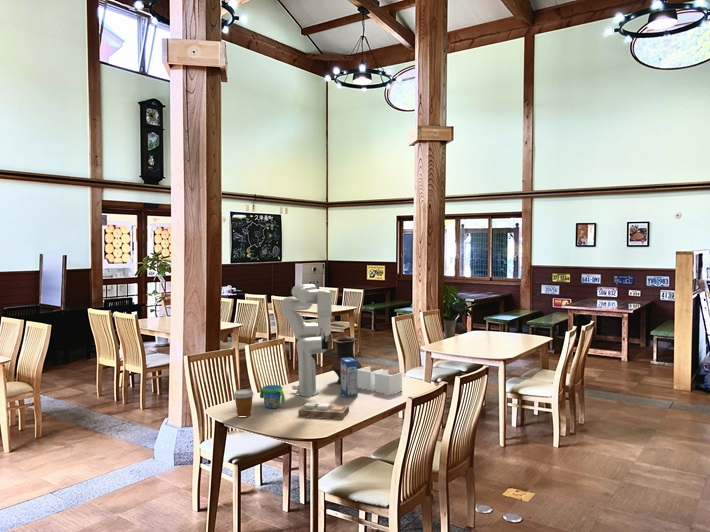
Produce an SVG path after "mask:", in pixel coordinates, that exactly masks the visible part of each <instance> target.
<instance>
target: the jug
mask: <svg viewBox="0 0 710 532" xmlns="http://www.w3.org/2000/svg"><path fill="white" fill-rule="evenodd" d="M331 341H332V343H333V344H335V345H336V359H335V360H334V361H333V363H332V364H331V367H330V368H331V370H332V371H333V372H334V373H335V374H336V376H337V378H338V379H337V381H336V383H337V384H339V385H341V365H340V358H350V357H351V358H353V359H355V360H357V358H356V357H355V355H354V346H355V342H357V341H358V338H357V337H352V336H348V335H346V333H345V332H344V331H339V332H338V336H337V337H334V338H333V339H332V340H331ZM361 368H363V367H362V365H361V363H360V361H359V360H357V369H361Z"/></svg>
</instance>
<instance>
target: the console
mask: <svg viewBox="0 0 710 532" xmlns="http://www.w3.org/2000/svg"><path fill="white" fill-rule="evenodd" d="M319 404H320V403H317V407H316V408H315V409H306V408H304V405H302V406H301V407H300V408H299V409H298V411H297V414H298V417H301V416H309V417H308V418H318V417H322V419H335V418H336V419H335V420H338V419H339V420H344V419H345V418H346V416H347V415H348V412H349V413H350V406H349V405H345V404H330V408H329V409H328V410H321V409H318V405H319ZM334 406H336V407H344V409H343V410H342V411H339V410H331V409H332V408H333V407H334Z"/></svg>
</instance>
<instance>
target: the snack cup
mask: <svg viewBox="0 0 710 532" xmlns="http://www.w3.org/2000/svg"><path fill="white" fill-rule="evenodd" d="M259 397H260V399H263V404H264V408H266V409H276V408H275V407H277V408H279V407H280V405H281V404H282V403H284V402H285V399H286V397H285V393H284V391H283V386H281V385H280V384H279V385H278V384H269V385H265V386H262V388H261V389H260V392H259Z"/></svg>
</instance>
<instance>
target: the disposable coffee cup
mask: <svg viewBox="0 0 710 532" xmlns="http://www.w3.org/2000/svg"><path fill="white" fill-rule="evenodd" d="M233 396H234V400H235V401H234V402H235V407H236V413H237V417H238V416H249V415H252V407H253V406H252V405H253V397H254V392H253V389H247V388H245V389H237V390H235V391H234V394H233ZM249 417H250V416H249Z"/></svg>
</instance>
